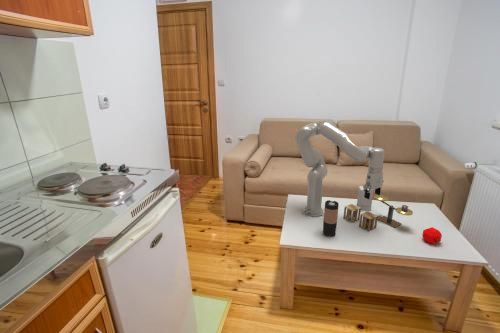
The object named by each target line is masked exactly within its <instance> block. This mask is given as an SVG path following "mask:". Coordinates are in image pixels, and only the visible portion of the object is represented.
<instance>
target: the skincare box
mask: <svg viewBox="0 0 500 333" xmlns="http://www.w3.org/2000/svg"><path fill="white" fill-rule="evenodd" d="M363 186H364V185H359V186H358V191H357V200H356V206H358V207H360V208H361V211H371V210H372V204H373V202H372V201H373V195H374V190H371V191H370V192H369V193H370V199H366V198H364V195H365V192H364V189H363ZM369 188H370V187H369ZM367 190H369V189H367Z"/></svg>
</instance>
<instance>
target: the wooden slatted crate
mask: <svg viewBox="0 0 500 333" xmlns="http://www.w3.org/2000/svg"><path fill="white" fill-rule="evenodd" d="M361 211H362V210H361V208H360V207H358V206H357V204H353V203H351V204H347V205H346V206H344V211H343V219H346V221H348V222H349V221H350V218H351V223H354V222H357V221H360V215H361V213H362V212H361Z"/></svg>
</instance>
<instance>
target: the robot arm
mask: <svg viewBox="0 0 500 333" xmlns="http://www.w3.org/2000/svg"><path fill="white" fill-rule="evenodd" d="M318 135H319V136H320V135H322V136H323V137H324V138H326V139H328V140H329V141H330V142H332V143H334V144H335V145H336V146H338V148H339V149H340V150H341V151H342V152H343V153H344V154H345V155H347V157H349V158H350V159H352V160H353V161H356V162H358V163H364V162H366V160H367V159H368V168H367V174H366V178H365V184H363V185H362V186H363V189H364V192H365V195H364V198H366V199H370V193H369V192H370V191H371V190H373V191H374V195H375V194H377V195H380V194H381V190H382V187H383V184H384V171H383V167H384V160H385V152H386V151H385V149H383V148H382V147H373V146H369V145H361V146H358V145H356V144H354V143H353V142H352V141H351V139H350V138H349V135H348V134H347V133H346V131H343V130H341V129H340V127H337V125H336V122H335V121H334V120H332V119H326V120H325V119H324V120H321V121H314V122H311V123H308V124H307V123H306V125H303V126H301V127H300V128H299V129H298V130H297V132H296V134H295V143H296V146H297V148H298V149H299V150H298V151H299V153H300V156H301V159H302V161H303V164H304V165H305V166H306V167H307V168H312V169H310V170H309V171H308V174H307V177H306V178H307V179H306V180H307V195H306V196H307V198H306V199H307V200H306V206H305V208H304V209H301V213H302V214H303V213H304V214H306V215H307V216H309V217H312V218H313V217H320V216H322V215H324V210H323V209H322V200H323V180H324V179H325V178H326V176H328V168H327V165H326V162H325V159H324V157H323V154H322V153H321V152H320V150H318V149H314V147H313V145H312V143H311V142H310V139H311V138H313V137H314V136H315V137H316V136H318ZM369 187H370V188H369ZM367 189H369V190H367Z"/></svg>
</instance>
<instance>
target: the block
mask: <svg viewBox="0 0 500 333" xmlns="http://www.w3.org/2000/svg"><path fill="white" fill-rule="evenodd" d="M362 221H363V224H364V220H363V219H362ZM368 226H369V219H368V218H367V222H366V229H365V230H368ZM371 226H372V219H371ZM371 226H370V230H371Z"/></svg>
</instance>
